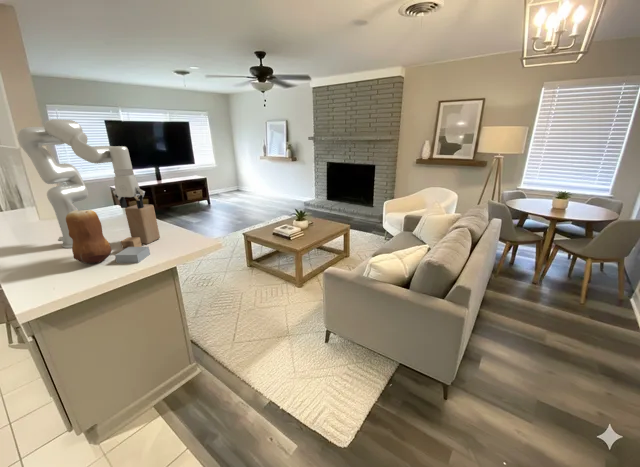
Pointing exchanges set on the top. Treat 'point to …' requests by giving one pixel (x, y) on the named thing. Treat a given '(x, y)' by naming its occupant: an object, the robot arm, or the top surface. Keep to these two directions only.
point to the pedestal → (132, 254)
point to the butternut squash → (87, 236)
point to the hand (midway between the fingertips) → (132, 207)
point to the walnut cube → (131, 242)
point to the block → (143, 223)
